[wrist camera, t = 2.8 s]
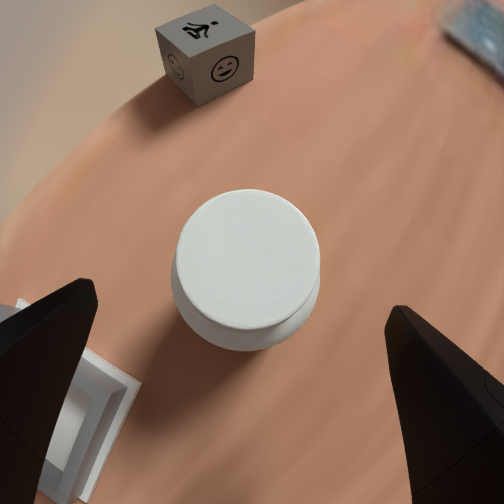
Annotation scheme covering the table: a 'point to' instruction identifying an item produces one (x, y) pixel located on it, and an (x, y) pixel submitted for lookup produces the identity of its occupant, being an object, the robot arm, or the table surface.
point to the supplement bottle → (246, 270)
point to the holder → (84, 425)
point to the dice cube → (207, 53)
